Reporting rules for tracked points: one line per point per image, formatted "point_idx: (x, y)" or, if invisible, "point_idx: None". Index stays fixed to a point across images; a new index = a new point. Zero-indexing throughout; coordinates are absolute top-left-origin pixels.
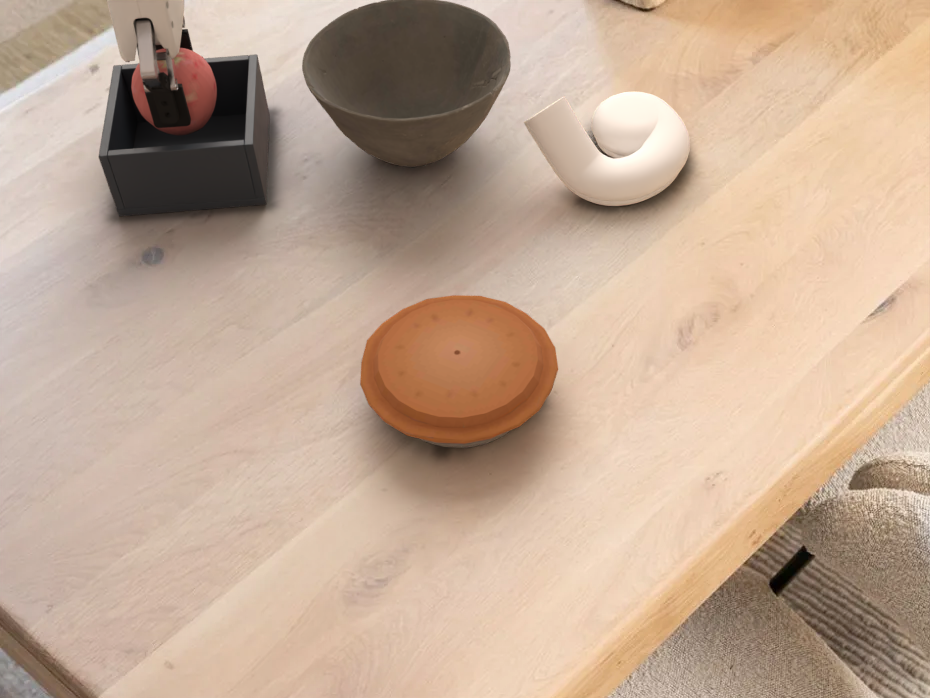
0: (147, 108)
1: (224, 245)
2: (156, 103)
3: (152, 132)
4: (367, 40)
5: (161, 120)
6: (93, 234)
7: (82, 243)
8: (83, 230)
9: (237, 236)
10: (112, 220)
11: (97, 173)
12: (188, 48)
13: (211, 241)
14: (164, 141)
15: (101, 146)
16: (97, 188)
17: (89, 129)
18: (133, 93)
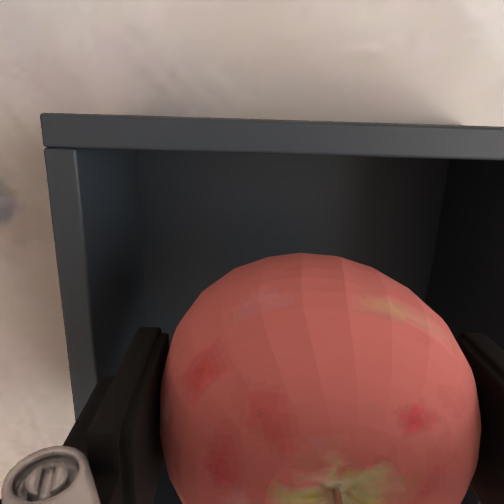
0: (182, 328)
1: (23, 338)
2: (73, 432)
3: (399, 188)
4: None
5: (102, 379)
6: (59, 53)
7: (26, 26)
8: (74, 25)
9: (49, 360)
10: (108, 99)
11: (291, 45)
12: (479, 497)
13: (35, 315)
14: (357, 218)
15: (99, 121)
16: (232, 50)
17: (482, 6)
18: (255, 288)
